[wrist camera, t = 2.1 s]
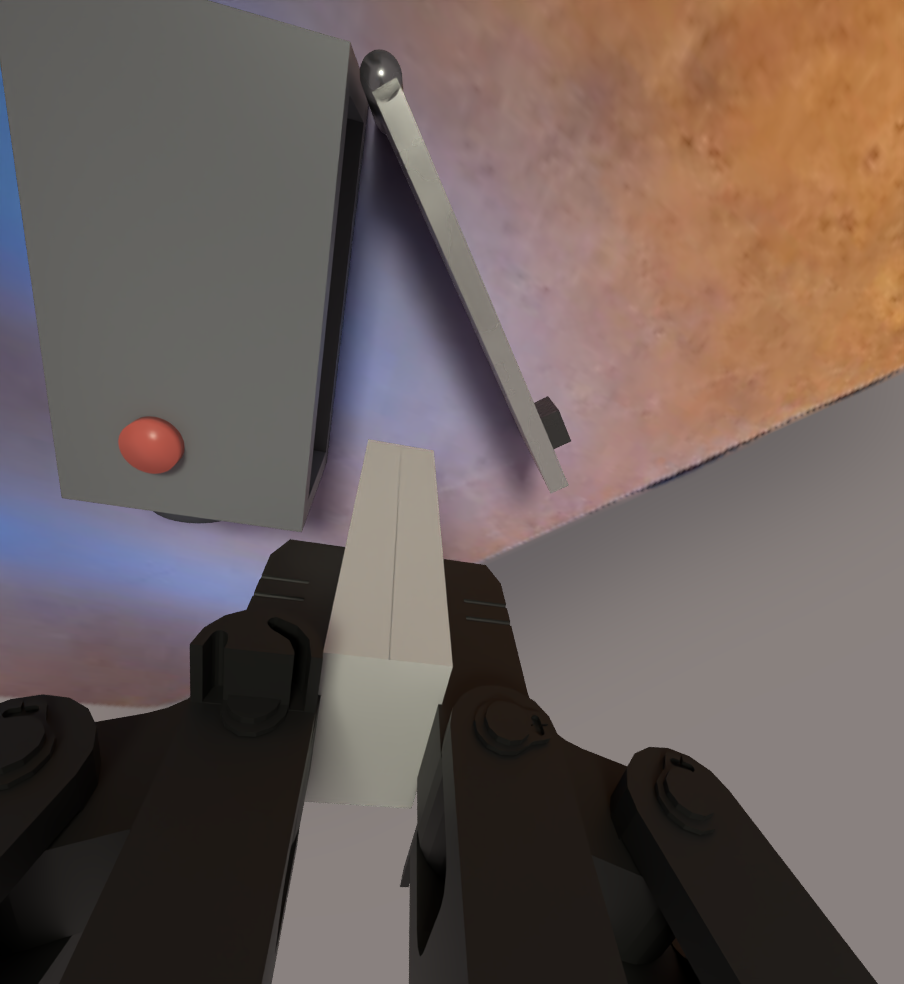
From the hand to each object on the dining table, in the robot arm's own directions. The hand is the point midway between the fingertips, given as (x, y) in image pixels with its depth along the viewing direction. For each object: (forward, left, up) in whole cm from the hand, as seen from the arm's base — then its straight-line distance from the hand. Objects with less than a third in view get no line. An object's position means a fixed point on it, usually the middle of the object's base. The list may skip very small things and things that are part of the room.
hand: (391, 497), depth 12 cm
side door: (-4, +3, -14) cm, 15 cm away
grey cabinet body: (-2, -8, -15) cm, 16 cm away
